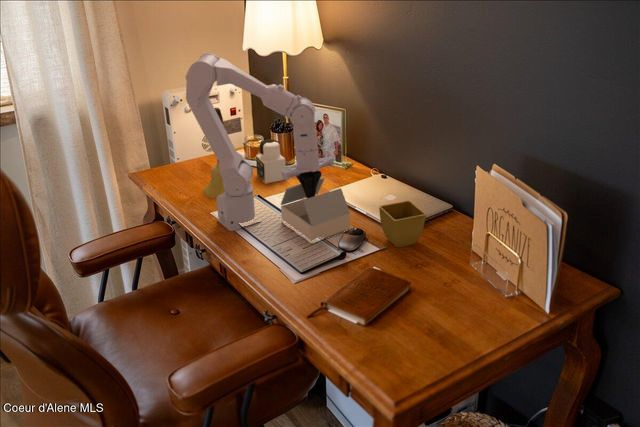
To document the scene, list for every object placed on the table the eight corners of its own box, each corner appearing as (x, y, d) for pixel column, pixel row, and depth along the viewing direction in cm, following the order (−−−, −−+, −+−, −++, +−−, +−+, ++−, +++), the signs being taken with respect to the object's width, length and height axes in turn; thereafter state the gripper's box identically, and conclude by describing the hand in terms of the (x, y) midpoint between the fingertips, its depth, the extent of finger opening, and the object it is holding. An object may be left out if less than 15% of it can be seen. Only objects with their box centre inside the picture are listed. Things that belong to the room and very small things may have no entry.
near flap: (311, 226, 145) (312, 225, 145) (302, 200, 146) (303, 199, 145) (349, 213, 151) (350, 213, 151) (340, 188, 152) (341, 188, 151)
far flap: (287, 189, 151) (286, 188, 151) (281, 205, 156) (280, 204, 156) (324, 178, 157) (323, 177, 157) (317, 194, 162) (316, 193, 162)
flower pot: (377, 237, 151) (378, 205, 147) (407, 230, 153) (409, 199, 149) (392, 253, 143) (394, 220, 139) (424, 246, 146) (427, 214, 142)
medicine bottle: (256, 175, 186) (254, 139, 181) (278, 171, 189) (276, 136, 184) (264, 184, 181) (262, 147, 175) (286, 179, 183) (284, 143, 178)
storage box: (311, 244, 148) (310, 226, 146) (281, 222, 158) (281, 206, 156) (349, 230, 154) (349, 213, 152) (318, 210, 164) (318, 194, 162)
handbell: (195, 188, 179) (186, 107, 167) (231, 177, 185) (224, 99, 174) (215, 202, 170) (206, 118, 158) (252, 191, 176) (246, 109, 165)
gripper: (289, 159, 142) (295, 210, 148) (339, 144, 149) (342, 194, 155) (275, 152, 148) (281, 202, 153) (323, 138, 154) (327, 186, 160)
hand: (311, 197), depth 154 cm, fingers closed, pressing on far flap
